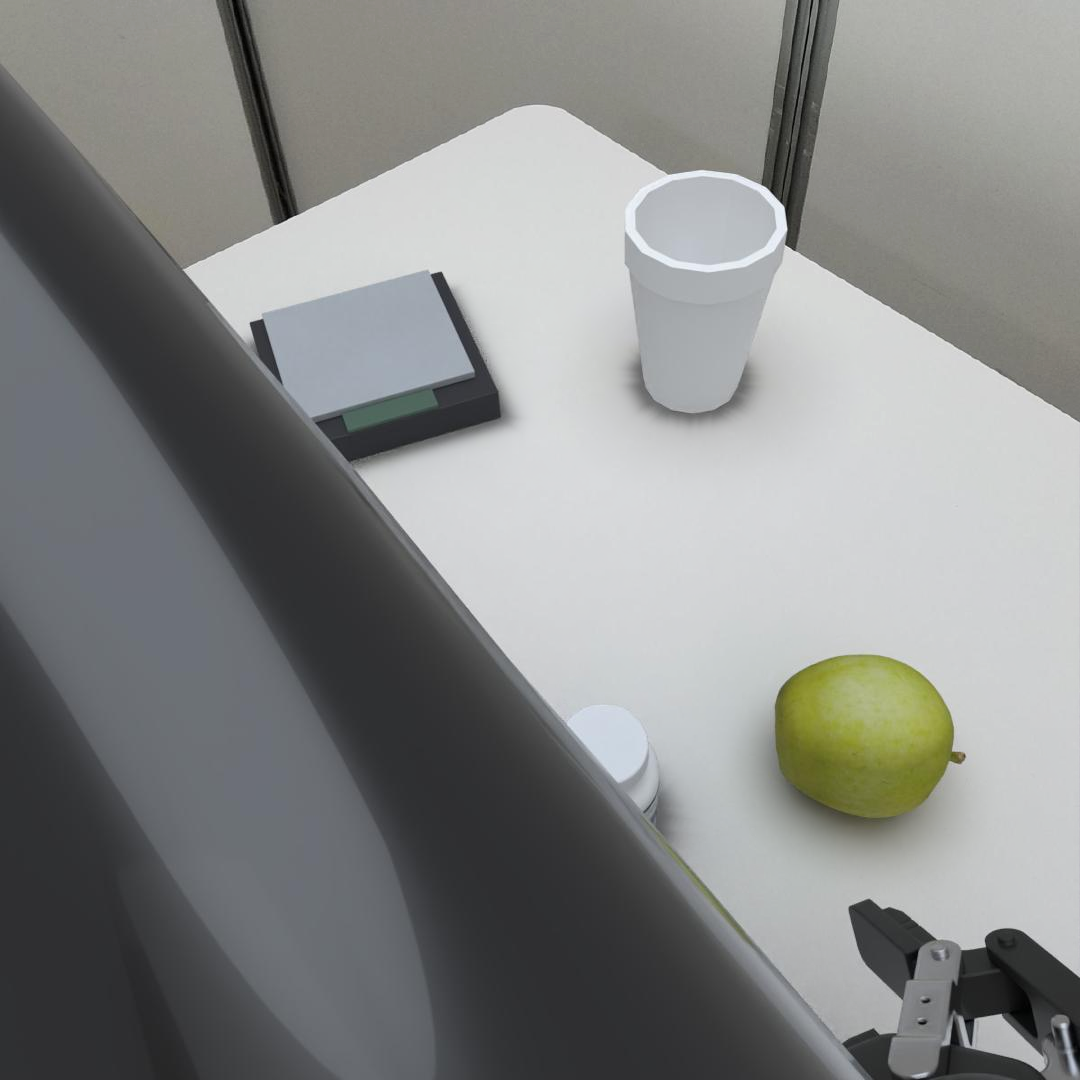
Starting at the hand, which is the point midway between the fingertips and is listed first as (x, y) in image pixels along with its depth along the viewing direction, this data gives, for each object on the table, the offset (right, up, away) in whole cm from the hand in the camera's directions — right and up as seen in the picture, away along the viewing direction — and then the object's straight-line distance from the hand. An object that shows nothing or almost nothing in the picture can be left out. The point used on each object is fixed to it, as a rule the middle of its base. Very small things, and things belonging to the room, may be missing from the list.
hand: (745, 973), depth 36 cm
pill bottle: (-4, 0, +20) cm, 20 cm away
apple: (+9, +2, +21) cm, 23 cm away
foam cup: (+3, +25, +38) cm, 46 cm away
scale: (-18, +25, +40) cm, 50 cm away
